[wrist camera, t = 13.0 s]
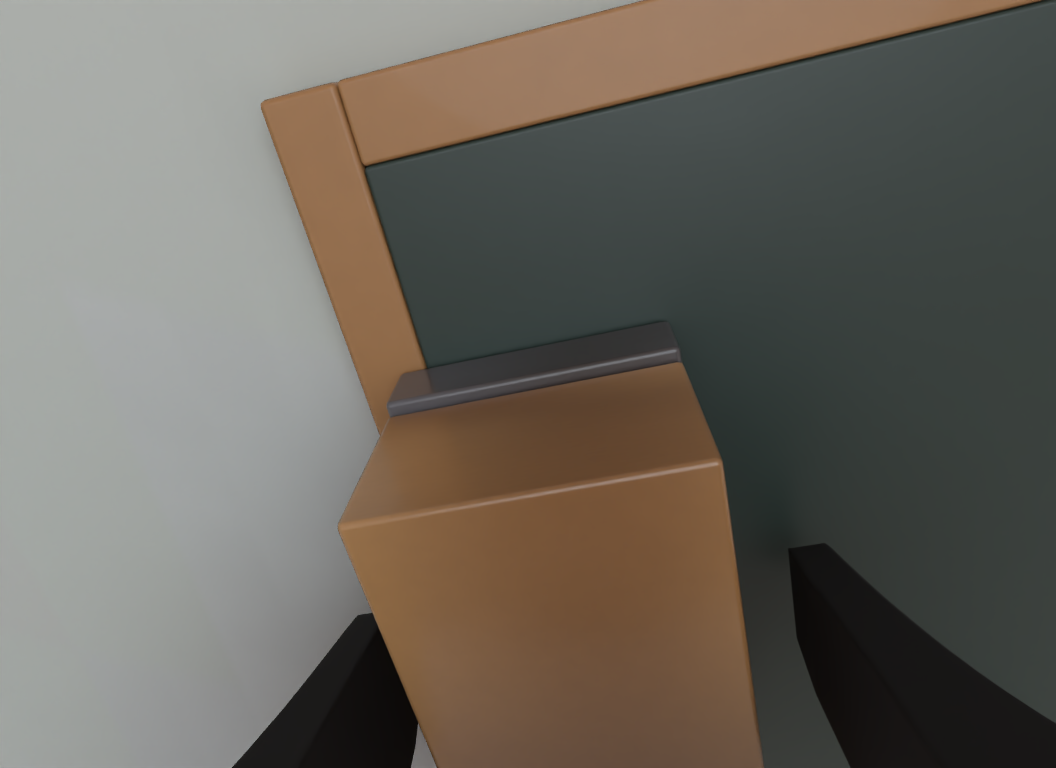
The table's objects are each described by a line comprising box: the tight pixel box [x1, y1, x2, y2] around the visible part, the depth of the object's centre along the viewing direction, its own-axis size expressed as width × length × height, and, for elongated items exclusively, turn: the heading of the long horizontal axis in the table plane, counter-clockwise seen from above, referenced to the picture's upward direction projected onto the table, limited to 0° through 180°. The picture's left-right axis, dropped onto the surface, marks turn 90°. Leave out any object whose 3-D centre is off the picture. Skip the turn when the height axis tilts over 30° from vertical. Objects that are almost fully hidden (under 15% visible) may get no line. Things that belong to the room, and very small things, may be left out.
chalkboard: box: [261, 0, 1056, 768], centre depth 13 cm, size 13×19×1 cm
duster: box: [338, 321, 764, 768], centre depth 12 cm, size 4×10×4 cm, turn 13°
